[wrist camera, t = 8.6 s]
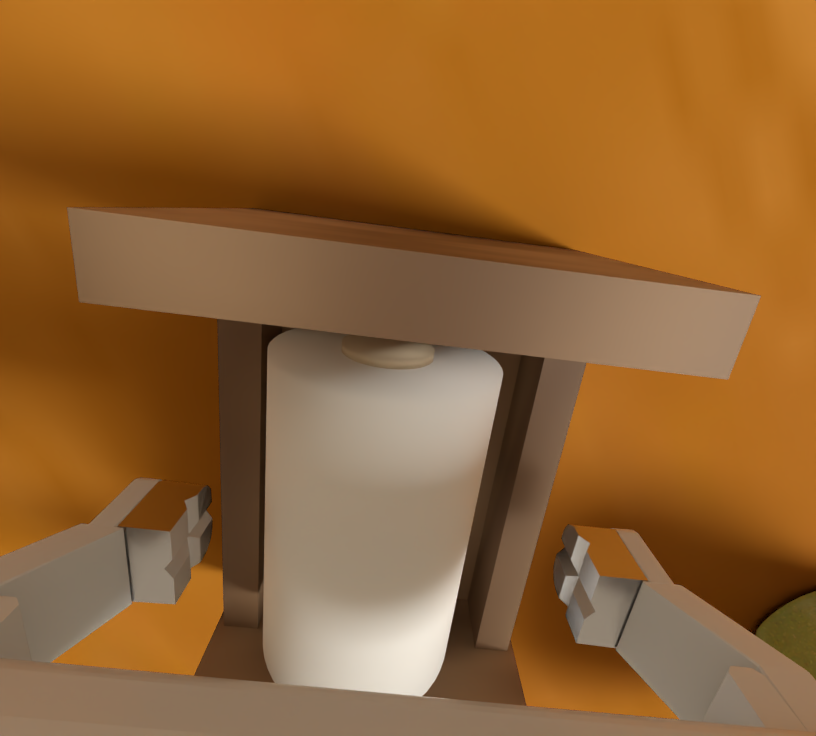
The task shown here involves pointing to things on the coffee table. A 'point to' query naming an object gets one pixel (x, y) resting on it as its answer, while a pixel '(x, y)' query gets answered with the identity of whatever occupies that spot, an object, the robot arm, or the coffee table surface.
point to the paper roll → (369, 504)
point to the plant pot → (793, 631)
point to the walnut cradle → (415, 322)
